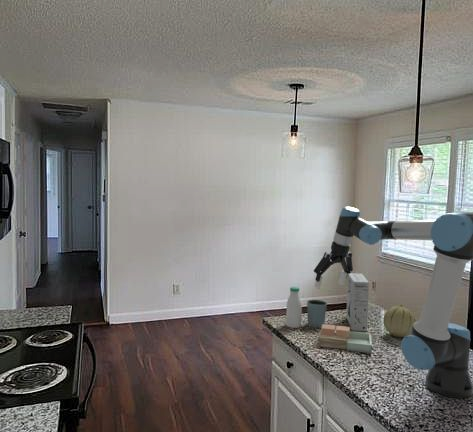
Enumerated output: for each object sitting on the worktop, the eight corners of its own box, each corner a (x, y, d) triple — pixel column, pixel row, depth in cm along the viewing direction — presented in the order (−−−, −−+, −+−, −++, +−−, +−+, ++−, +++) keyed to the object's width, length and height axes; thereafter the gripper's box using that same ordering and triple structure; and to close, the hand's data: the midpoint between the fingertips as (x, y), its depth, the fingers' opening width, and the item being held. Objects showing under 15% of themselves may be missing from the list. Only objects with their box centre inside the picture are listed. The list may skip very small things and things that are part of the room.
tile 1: (334, 336, 189) (334, 329, 189) (321, 334, 191) (321, 328, 191) (335, 331, 195) (335, 325, 195) (322, 330, 197) (322, 324, 196)
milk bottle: (300, 329, 210) (302, 289, 209) (285, 327, 212) (286, 288, 210) (301, 324, 218) (302, 286, 216) (286, 323, 219) (287, 285, 218)
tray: (371, 353, 180) (371, 345, 180) (346, 350, 183) (347, 342, 183) (370, 340, 196) (370, 333, 195) (347, 338, 198) (348, 330, 198)
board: (346, 349, 184) (346, 340, 184) (319, 345, 187) (319, 337, 187) (347, 338, 197) (347, 330, 197) (321, 335, 201) (321, 327, 201)
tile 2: (349, 337, 187) (349, 331, 187) (335, 336, 189) (335, 329, 189) (349, 333, 193) (349, 327, 193) (336, 331, 195) (336, 325, 195)
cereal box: (346, 317, 231) (348, 273, 229) (360, 318, 230) (362, 273, 228) (351, 330, 209) (353, 281, 208) (367, 331, 208) (369, 282, 207)
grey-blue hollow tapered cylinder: (303, 322, 221) (303, 300, 220) (320, 321, 224) (320, 299, 223) (312, 328, 211) (312, 305, 210) (329, 327, 214) (330, 304, 213)
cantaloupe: (383, 339, 197) (385, 308, 196) (381, 329, 211) (383, 300, 210) (417, 343, 193) (419, 311, 192) (413, 333, 207) (414, 303, 206)
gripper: (357, 237, 185) (344, 279, 192) (313, 239, 173) (301, 284, 180) (369, 245, 179) (355, 288, 186) (324, 247, 167) (311, 293, 174)
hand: (329, 286), depth 183 cm, fingers open, 13 cm apart
